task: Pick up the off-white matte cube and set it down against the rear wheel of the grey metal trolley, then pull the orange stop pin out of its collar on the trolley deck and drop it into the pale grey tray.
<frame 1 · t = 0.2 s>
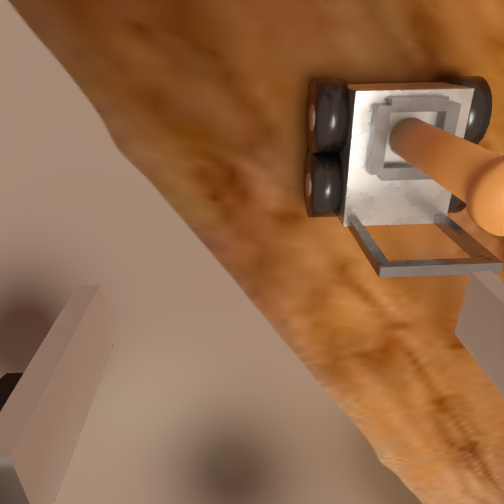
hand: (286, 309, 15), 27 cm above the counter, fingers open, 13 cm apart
pin: (408, 137, 33), point 7 cm above the counter, touching trolley
trolley: (377, 142, 40), on the counter
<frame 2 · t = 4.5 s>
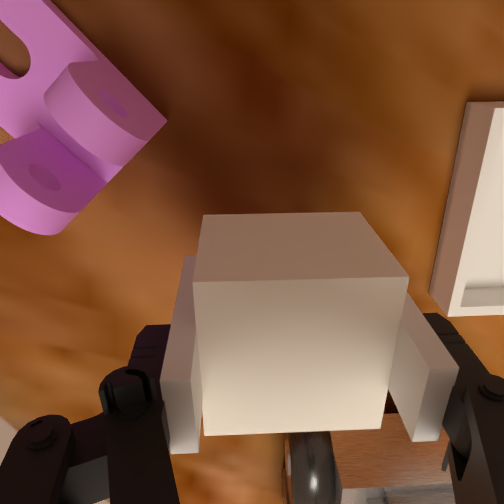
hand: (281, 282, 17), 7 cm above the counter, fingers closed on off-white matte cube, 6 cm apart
trolley: (373, 445, 31), on the counter
bracket: (24, 55, 19), on the counter
off-white matte cube: (279, 280, 17), point 7 cm above the counter, touching gripper
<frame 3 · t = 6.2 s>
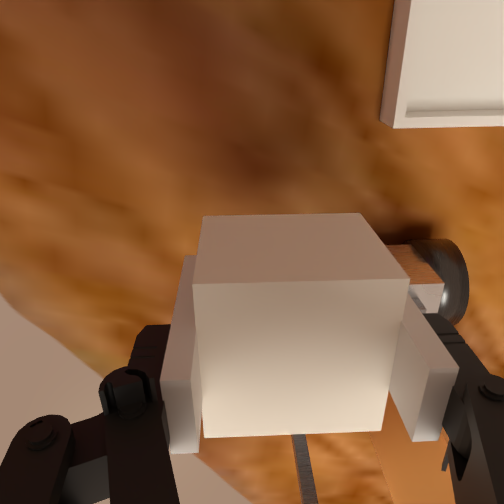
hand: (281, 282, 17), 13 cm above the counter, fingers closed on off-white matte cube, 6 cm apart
tray: (488, 18, 24), on the counter
pin: (360, 334, 25), point 7 cm above the counter, touching trolley
trolley: (333, 297, 33), on the counter
off-white matte cube: (280, 282, 17), point 12 cm above the counter, touching gripper
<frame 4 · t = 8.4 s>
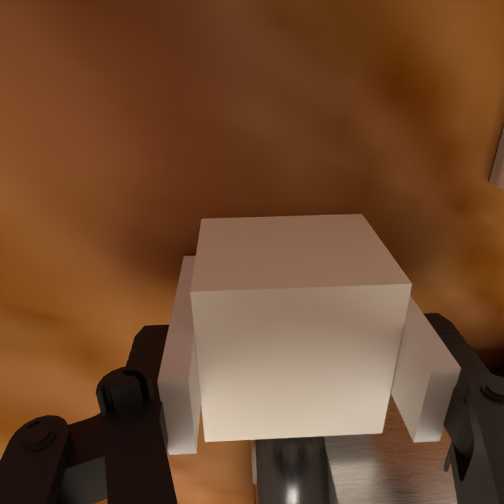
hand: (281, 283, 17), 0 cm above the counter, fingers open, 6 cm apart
trolley: (386, 432, 21), on the counter
off-white matte cube: (280, 282, 17), on the counter
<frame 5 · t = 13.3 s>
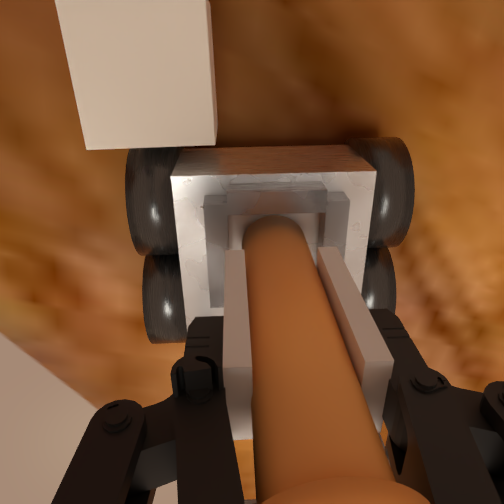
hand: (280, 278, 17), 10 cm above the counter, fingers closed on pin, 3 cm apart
pin: (273, 244, 20), point 7 cm above the counter, touching gripper
trolley: (263, 224, 27), on the counter
off-white matte cube: (159, 69, 22), on the counter
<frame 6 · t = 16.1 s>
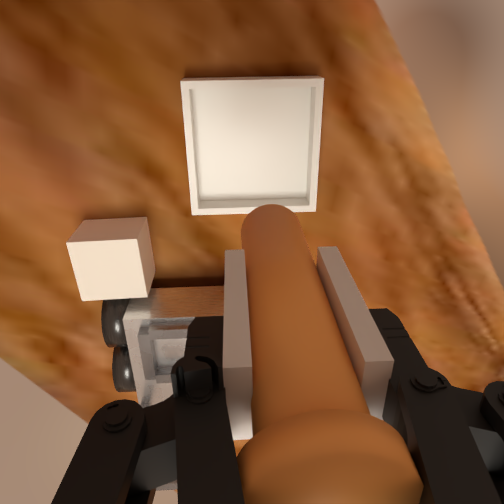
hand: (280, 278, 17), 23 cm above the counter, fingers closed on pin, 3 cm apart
tray: (252, 144, 37), on the counter
pin: (270, 231, 21), point 18 cm above the counter, touching gripper
trolley: (186, 319, 46), on the counter
off-white matte cube: (121, 245, 41), on the counter
when the fingers open (4 cm above the counter, at t = 19.0 s): pin stays where it is, resting on tray.
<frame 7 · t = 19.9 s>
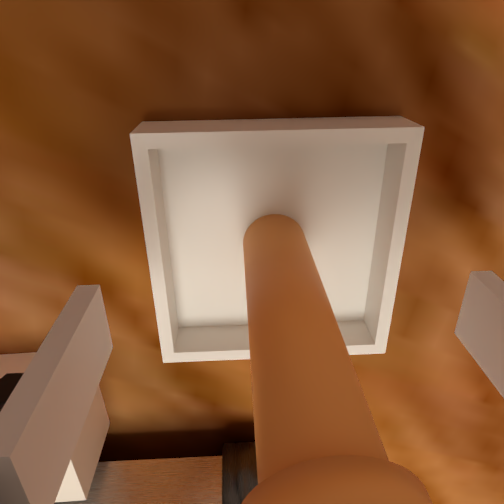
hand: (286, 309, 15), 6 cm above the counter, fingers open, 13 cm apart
tray: (271, 236, 21), on the counter
pin: (274, 242, 20), point 1 cm above the counter, touching tray
trolley: (162, 485, 29), on the counter
off-white matte cube: (49, 389, 25), on the counter
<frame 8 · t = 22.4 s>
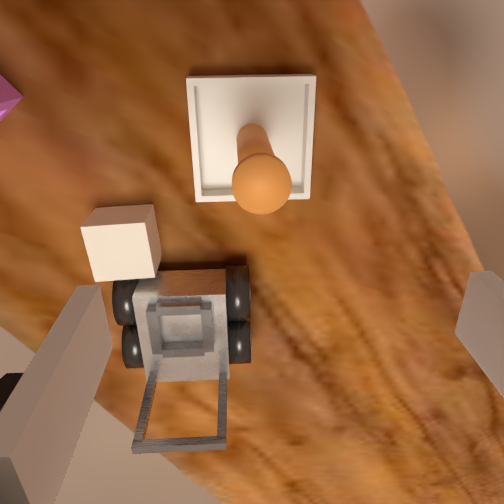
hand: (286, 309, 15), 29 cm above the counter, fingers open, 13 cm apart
tray: (251, 137, 40), on the counter
pin: (252, 139, 40), resting on tray
trolley: (189, 302, 49), on the counter
off-white matte cube: (130, 231, 45), on the counter
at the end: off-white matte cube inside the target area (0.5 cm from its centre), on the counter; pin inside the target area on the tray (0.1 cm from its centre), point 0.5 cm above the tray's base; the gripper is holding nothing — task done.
